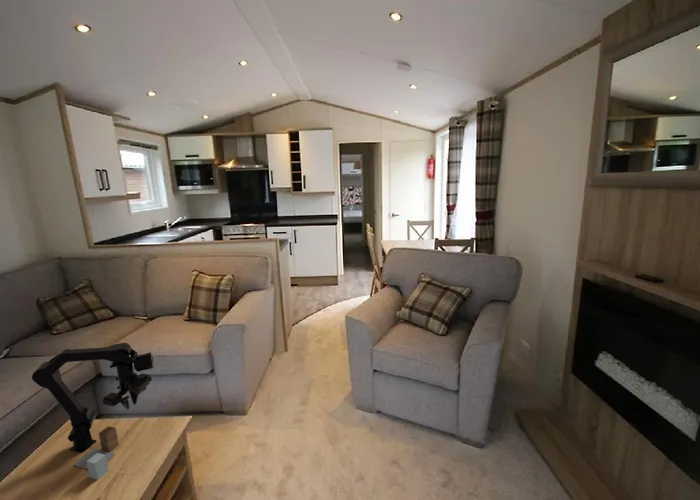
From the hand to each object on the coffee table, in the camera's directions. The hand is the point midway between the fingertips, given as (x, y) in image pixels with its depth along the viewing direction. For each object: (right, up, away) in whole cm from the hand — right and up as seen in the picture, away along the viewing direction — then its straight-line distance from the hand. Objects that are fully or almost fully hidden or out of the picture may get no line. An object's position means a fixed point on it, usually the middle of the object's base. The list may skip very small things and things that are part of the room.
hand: (131, 406), depth 143 cm
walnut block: (-4, -14, -6) cm, 16 cm away
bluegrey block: (0, -16, -19) cm, 25 cm away
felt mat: (-6, -15, -13) cm, 20 cm away
